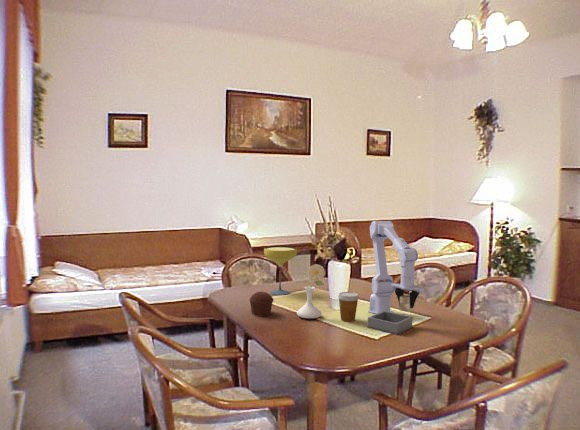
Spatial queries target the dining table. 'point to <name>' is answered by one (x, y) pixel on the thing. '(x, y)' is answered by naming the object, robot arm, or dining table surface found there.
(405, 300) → the birch block
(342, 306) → the disposable coffee cup
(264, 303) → the muffin
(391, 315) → the charcoal bin
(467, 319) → the dining table surface
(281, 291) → the cocktail glass
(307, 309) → the flower in vase
